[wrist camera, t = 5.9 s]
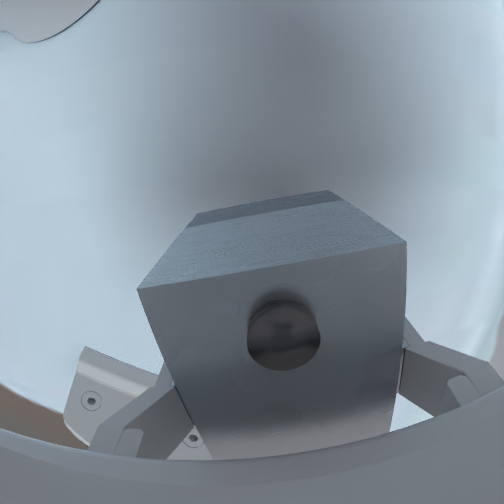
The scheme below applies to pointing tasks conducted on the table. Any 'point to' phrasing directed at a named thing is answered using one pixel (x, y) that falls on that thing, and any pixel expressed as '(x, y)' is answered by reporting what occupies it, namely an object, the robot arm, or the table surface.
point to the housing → (282, 324)
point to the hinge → (114, 400)
